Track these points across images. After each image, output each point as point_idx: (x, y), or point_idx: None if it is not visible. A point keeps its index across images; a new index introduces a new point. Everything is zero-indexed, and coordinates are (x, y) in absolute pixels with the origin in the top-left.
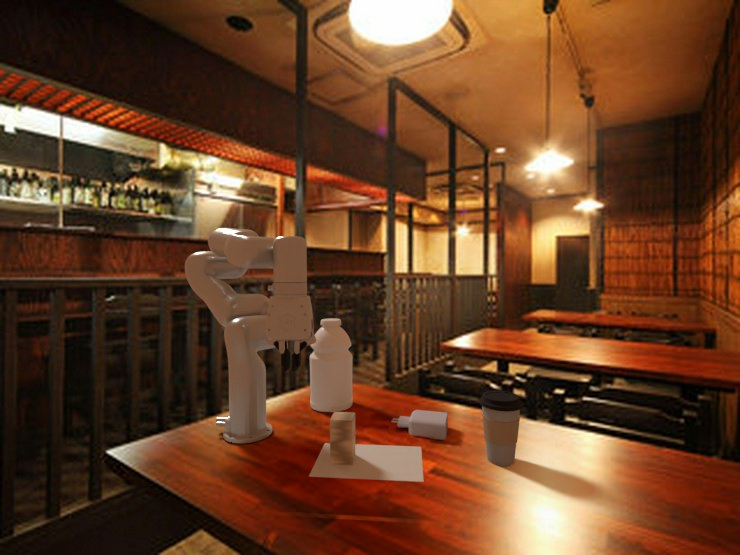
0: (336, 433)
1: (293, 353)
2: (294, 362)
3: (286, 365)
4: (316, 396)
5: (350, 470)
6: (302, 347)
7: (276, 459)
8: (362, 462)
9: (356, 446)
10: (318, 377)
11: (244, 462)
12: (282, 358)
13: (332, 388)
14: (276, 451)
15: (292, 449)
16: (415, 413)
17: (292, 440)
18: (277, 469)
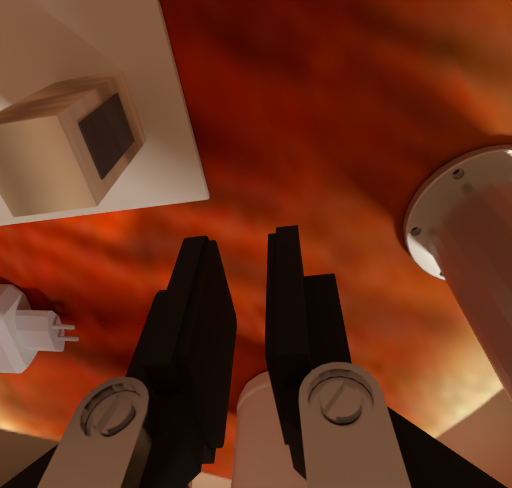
0: (57, 102)
1: (201, 402)
2: (171, 287)
3: (267, 262)
4: None
5: (41, 45)
6: (34, 482)
7: (320, 73)
8: None
9: (108, 198)
10: None
11: (426, 22)
12: (330, 328)
13: (273, 429)
14: (342, 127)
15: (295, 151)
16: (2, 352)
17: (320, 205)
18: (287, 3)
